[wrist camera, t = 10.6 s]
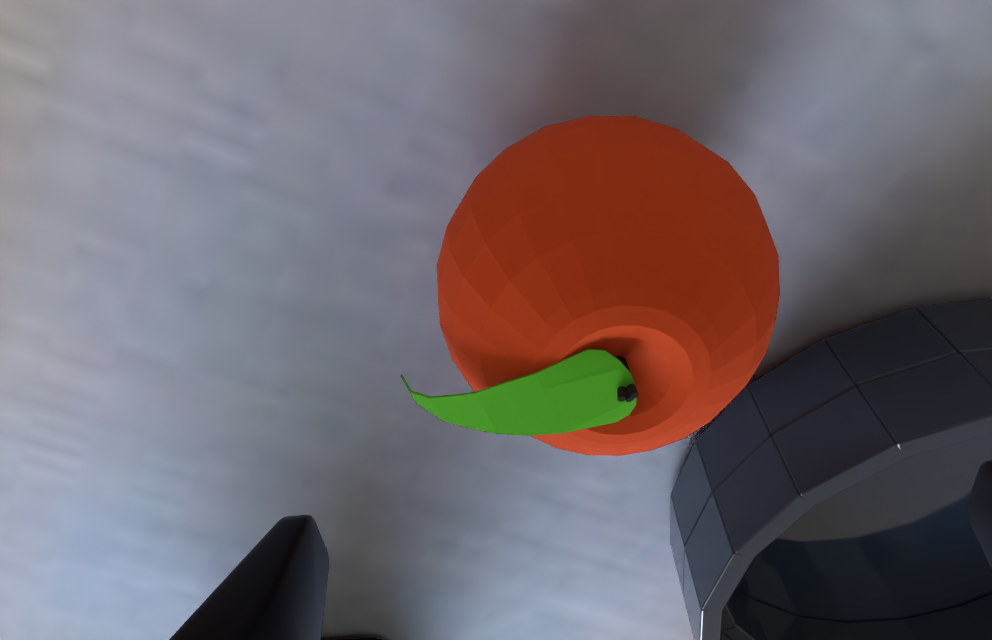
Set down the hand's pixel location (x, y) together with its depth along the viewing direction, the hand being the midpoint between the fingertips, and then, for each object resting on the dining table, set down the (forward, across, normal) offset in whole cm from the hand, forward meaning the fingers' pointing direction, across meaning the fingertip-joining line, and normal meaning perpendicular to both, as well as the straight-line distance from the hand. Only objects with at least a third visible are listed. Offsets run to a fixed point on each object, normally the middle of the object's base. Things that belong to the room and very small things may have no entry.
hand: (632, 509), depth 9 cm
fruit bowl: (+9, -10, +11) cm, 18 cm away
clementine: (+10, 0, 0) cm, 10 cm away
